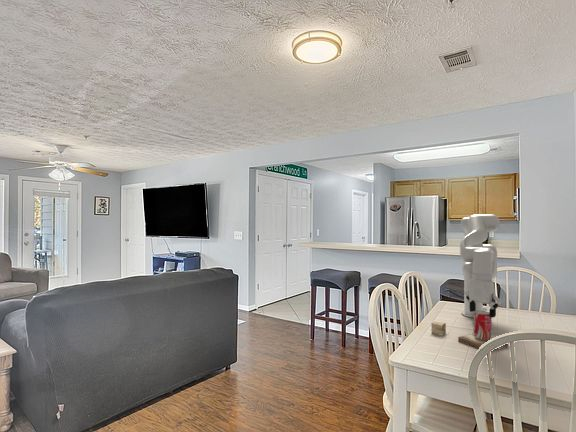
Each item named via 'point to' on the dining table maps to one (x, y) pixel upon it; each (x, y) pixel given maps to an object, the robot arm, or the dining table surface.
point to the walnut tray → (474, 341)
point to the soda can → (482, 325)
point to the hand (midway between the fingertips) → (482, 314)
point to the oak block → (438, 327)
